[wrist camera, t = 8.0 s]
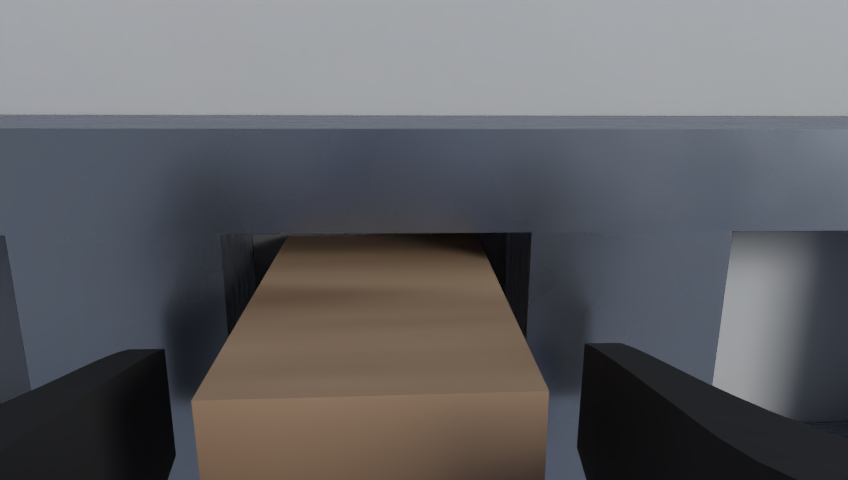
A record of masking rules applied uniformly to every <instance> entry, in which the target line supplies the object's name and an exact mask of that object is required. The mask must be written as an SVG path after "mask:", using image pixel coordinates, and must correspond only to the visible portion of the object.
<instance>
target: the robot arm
mask: <svg viewBox="0 0 848 480" xmlns="http://www.w3.org/2000/svg"><path fill="white" fill-rule="evenodd" d="M577 450H578V453H579V457H580V460H581V463H582V467H583V470H584V474H585V477H586V480H848V438H845V437H841V436H838V435H835V434H832V433H829V432H826V431H823V430H820V429H817V428H815V427H812V426H809V425H806V424H803V423H800V422H797V421H795V420H792V419H789V418H786V417H784V416H781V415H779V414H776V413H773V412H771V411H768V410H766V409H764V408H761V407H759V406H757V405H754V404H752V403H750V402H747V401H745V400H743V399H740V398H738V397H736V396H733V395H731V394H729V393H727V392H725V391H723V390H720V389H718V388H716V387H714V386H712V385H710V384H708V383H706V382H704V381H701V380H699V379H697V378H695V377H693V376H691V375H689V374H687V373H685V372H683V371H681V370H679V369H677V368H675V367H673V366H671V365H669V364H667V363H665V362H663V361H661V360H659V359H657V358H655V357H653V356H651V355H649V354H647V353H645V352H642V351H640V350H638V349H636V348H633V347H631V346H628V345H625V344H622V343H585V346H584V359H583V372H582V385H581V398H580V411H579V424H578V438H577ZM175 457H176V450H175V441H174V432H173V422H172V413H171V404H170V394H169V385H168V376H167V366H166V357H165V349H128V350H124V351H120V352H117V353H114V354H111V355H109V356H106V357H104V358H102V359H99V360H97V361H95V362H92V363H90V364H88V365H86V366H83V367H81V368H79V369H77V370H75V371H73V372H70V373H68V374H66V375H64V376H62V377H60V378H58V379H55V380H53V381H51V382H49V383H47V384H45V385H43V386H40V387H38V388H36V389H34V390H32V391H30V392H27V393H25V394H23V395H21V396H18V397H16V398H14V399H11V400H9V401H7V402H4V403H2V404H0V480H168V478H169V475H170V472H171V469H172V466H173V463H174V460H175Z"/></svg>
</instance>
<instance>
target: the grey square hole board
mask: <svg viewBox="0 0 848 480" xmlns="http://www.w3.org/2000/svg"><path fill="white" fill-rule="evenodd" d="M733 231H848V116H303V115H0V236H5V239H6V245H7V251H8V257H9V263H10V269H11V275H12V281H13V287H14V293H15V299H16V305H17V311H18V316H19V322H20V328H21V334H22V340H23V346H24V352H25V358H26V364H27V370H28V376H29V382H30V387H31V391H32V390H34V389H36V388H38V387H40V386H43V385H45V384H47V383H49V382H51V381H53V380H55V379H58V378H60V377H62V376H64V375H66V374H68V373H70V372H73V371H75V370H77V369H79V368H81V367H83V366H86V365H88V364H90V363H92V362H95V361H97V360H99V359H102V358H104V357H106V356H109V355H111V354H114V353H117V352H120V351H124V350H128V349H165V357H166V366H167V376H168V385H169V394H170V404H171V413H172V422H173V432H174V441H175V450H176V457H175V460H174V463H173V466H172V469H171V472H170V475H169V478H168V480H200V475H199V466H198V457H197V448H196V439H195V430H194V421H193V412H192V403H191V400H192V399H193V397H194V395H195V393H196V392H197V390H198V388H199V387H200V385H201V383H202V382H203V380H204V378H205V376H206V375H207V373H208V371H209V370H210V368H211V366H212V365H213V363H214V361H215V359H216V358H217V356H218V354H219V353H220V351H221V349H222V347H223V346H224V344H225V342H226V341H227V339H228V337H229V336H230V334H231V332H232V330H233V329H234V327H235V325H236V324H237V322H238V320H239V319H240V317H241V315H242V313H243V312H244V310H245V308H246V307H247V305H248V303H249V301H250V300H251V298H252V296H253V295H254V293H255V291H256V283H255V268H254V253H253V238H252V234H353V233H507V244H506V269H505V294H504V295H505V297H506V299H507V301H508V303H509V306H510V308H511V310H512V312H513V314H514V316H515V319H516V321H517V323H518V325H519V327H520V329H521V332H522V334H523V336H524V338H525V340H526V342H527V344H528V347H529V349H530V351H531V353H532V355H533V357H534V360H535V362H536V364H537V366H538V368H539V370H540V372H541V375H542V377H543V379H544V381H545V383H546V385H547V388H548V390H549V403H548V424H547V444H546V465H545V480H586V477H585V474H584V470H583V467H582V463H581V460H580V457H579V453H578V450H577V438H578V424H579V411H580V398H581V385H582V372H583V359H584V346H585V343H622V344H625V345H628V346H631V347H633V348H636V349H638V350H640V351H642V352H645V353H647V354H649V355H651V356H653V357H655V358H657V359H659V360H661V361H663V362H665V363H667V364H669V365H671V366H673V367H675V368H677V369H679V370H681V371H683V372H685V373H687V374H689V375H691V376H693V377H695V378H697V379H699V380H701V381H704V382H706V383H708V384H710V385H712V382H713V375H714V367H715V360H716V352H717V345H718V338H719V330H720V323H721V315H722V308H723V300H724V293H725V285H726V278H727V270H728V263H729V256H730V248H731V241H732V233H733ZM803 424H806V425H809V426H812V427H815V428H817V429H820V430H823V431H826V432H829V433H832V434H835V435H838V436H841V437H845V438H848V422H827V423H803Z"/></svg>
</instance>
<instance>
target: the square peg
mask: <svg viewBox="0 0 848 480" xmlns="http://www.w3.org/2000/svg"><path fill="white" fill-rule="evenodd" d="M191 403H192V412H193V421H194V430H195V439H196V448H197V457H198V466H199V475H200V480H545V465H546V444H547V424H548V403H549V390H548V388H547V385H546V383H545V381H544V379H543V377H542V375H541V372H540V370H539V368H538V366H537V364H536V362H535V360H534V357H533V355H532V353H531V351H530V349H529V347H528V344H527V342H526V340H525V338H524V336H523V334H522V332H521V329H520V327H519V325H518V323H517V321H516V319H515V316H514V314H513V312H512V310H511V308H510V306H509V303H508V301H507V299H506V297H505V295H504V293H503V291H502V288H501V286H500V284H499V282H498V280H497V278H496V275H495V273H494V271H493V269H492V267H491V265H490V263H489V260H488V258H487V256H486V254H485V252H484V250H483V247H482V245H481V243H480V241H479V239H478V237H477V234H476V233H436V234H378V235H320V236H288V237H287V238H286V240H285V242H284V244H283V245H282V247H281V249H280V250H279V252H278V254H277V256H276V257H275V259H274V261H273V262H272V264H271V266H270V267H269V269H268V271H267V273H266V274H265V276H264V278H263V279H262V281H261V283H260V284H259V286H258V288H257V290H256V291H255V293H254V295H253V296H252V298H251V300H250V301H249V303H248V305H247V307H246V308H245V310H244V312H243V313H242V315H241V317H240V319H239V320H238V322H237V324H236V325H235V327H234V329H233V330H232V332H231V334H230V336H229V337H228V339H227V341H226V342H225V344H224V346H223V347H222V349H221V351H220V353H219V354H218V356H217V358H216V359H215V361H214V363H213V365H212V366H211V368H210V370H209V371H208V373H207V375H206V376H205V378H204V380H203V382H202V383H201V385H200V387H199V388H198V390H197V392H196V393H195V395H194V397H193V399H192V400H191Z"/></svg>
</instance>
